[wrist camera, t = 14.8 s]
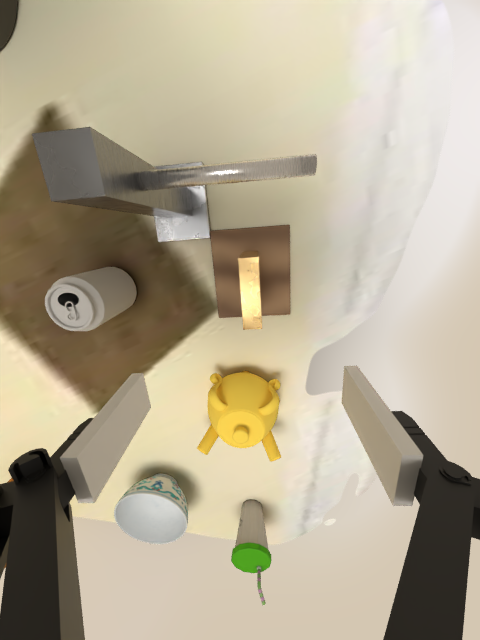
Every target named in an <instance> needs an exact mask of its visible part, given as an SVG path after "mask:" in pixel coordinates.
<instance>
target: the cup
mask: <svg viewBox="0 0 480 640" xmlns="http://www.w3.org/2000/svg"><path fill="white" fill-rule="evenodd" d="M231 561H232V563H233V564H234V566H235V567H236V568H238V569H240V570H242V571H243V572H250V573H257V572H258V591H259V594H260V597H261V601H262V604H263V605H265V600H264V597H263V594H262V591H261V580H260V579H261V576H260V572H262V571H264V570H266V569H267V568H269V567H270V564H271V554H270V552H269V550H268V544H267V538H266V531H265V524H264V517H263V511H262V506H261V504H260V502H258V501H256V500H247V501H245V502H244V503H243V506H242V511H241V517H240V523H239V528H238V534H237V540H236V545H235V548H234V549H233V552H232V559H231Z"/></svg>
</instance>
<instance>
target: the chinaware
mask: <svg viewBox="0 0 480 640" xmlns="http://www.w3.org/2000/svg"><path fill="white" fill-rule="evenodd" d="M114 517H115V520H116V522H117V524H118V526H119V527H120V528H121V529H122V530H123V531H124V532H125V533H126V534H128V535H129V536H131V537H133V538H135V539H137V540H139V541H142V542H146V543H151V544H166V543H170V542H173V541H176V540H177V539H179V538H180V537H182V535H183V534H184V533H185V531H186V529H187V524H188V508H187V502H186V499H185V496H184V494H183V492H182V490H181V489H180V487H179V486H178V483H177V481H176V480H175V479H174V478H173V477H172V476H170V475H167V474H156V475H153V476H152V477H149V478H146V479H144V480H141V481H139V482H138V483H136V484H135V485H133V486H132V487H131V488H130V489H129V490H128V491H127V492H126V493H125V494H124V495H123V496H122V498H121V499H120V500H119V502H118V503H117V505H116V507H115V510H114Z"/></svg>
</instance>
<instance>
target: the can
mask: <svg viewBox="0 0 480 640" xmlns="http://www.w3.org/2000/svg"><path fill="white" fill-rule="evenodd" d="M136 294H137V292H136V286H135V284H134V281H133V279H132V278H131V277H130V276H129V275H128V273H126V272H125V271H123V270H122V269H119V268H116V267H105V268H101V269H97V270H92V271H88V272H84V273H80V274H76V275H72V276H68V277H64V278H62V279H59V280H57V281H56V282H55V283H54V284H53V285H52V287H51V289H49V290H48V292H47V294H46V296H45V306H46V310H47V312H48V314H49V316H50V317H51V319H52V320H53V321H54V322H55V323H56V324H57V325H59V326H61V327H62V328H64V329H67V330H70V331H89V330H92V329H95V328H96V327H98V326H100V325H101V324H103V323H105V322H106V321H108V320H110V319H111V318H113V317H115V316H116V315H118V314H119V313H121V312H123V311H124V310H126V309H128V308H129V307H130V306H132V305H133V303H134V301H135V299H136Z"/></svg>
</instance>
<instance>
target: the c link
mask: <svg viewBox="0 0 480 640" xmlns="http://www.w3.org/2000/svg"><path fill="white" fill-rule="evenodd" d="M238 263H239V277H240V290H241V304H242V317H243V330H245V329H262V318H261V297H260V276H259V256H258V251H247V252H242V253H241V255H240V256H239V258H238Z"/></svg>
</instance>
